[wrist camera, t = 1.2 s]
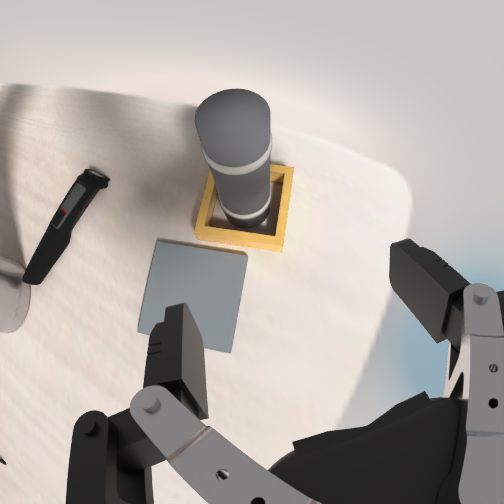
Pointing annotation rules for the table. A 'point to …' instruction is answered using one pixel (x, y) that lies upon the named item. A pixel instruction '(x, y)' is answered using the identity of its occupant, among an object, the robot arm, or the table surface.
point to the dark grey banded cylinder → (238, 153)
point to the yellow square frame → (240, 237)
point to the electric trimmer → (63, 225)
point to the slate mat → (196, 290)
